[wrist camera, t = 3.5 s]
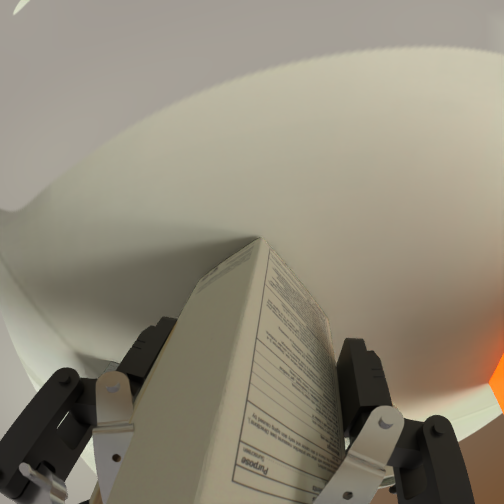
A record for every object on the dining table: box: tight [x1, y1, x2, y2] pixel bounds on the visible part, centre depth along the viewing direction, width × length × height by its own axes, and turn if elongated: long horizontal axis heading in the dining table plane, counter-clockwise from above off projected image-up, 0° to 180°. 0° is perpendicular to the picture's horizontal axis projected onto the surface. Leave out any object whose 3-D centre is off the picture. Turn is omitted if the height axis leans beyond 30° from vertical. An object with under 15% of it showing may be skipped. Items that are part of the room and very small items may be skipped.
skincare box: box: [89, 238, 345, 504], centre depth 9 cm, size 6×4×12 cm
